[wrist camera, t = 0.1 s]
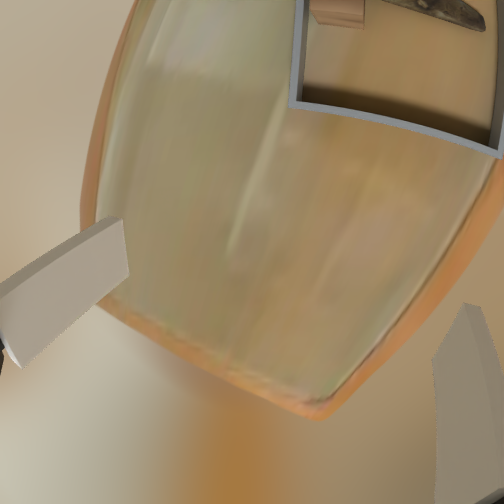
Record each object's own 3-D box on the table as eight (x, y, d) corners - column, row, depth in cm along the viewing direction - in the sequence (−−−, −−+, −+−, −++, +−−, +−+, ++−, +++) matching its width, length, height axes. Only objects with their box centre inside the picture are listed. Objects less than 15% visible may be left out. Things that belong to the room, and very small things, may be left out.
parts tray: (306, -76, 20) (301, -87, 17) (497, -34, 13) (505, -41, 11) (293, 107, 32) (287, 107, 30) (492, 155, 26) (501, 159, 24)
